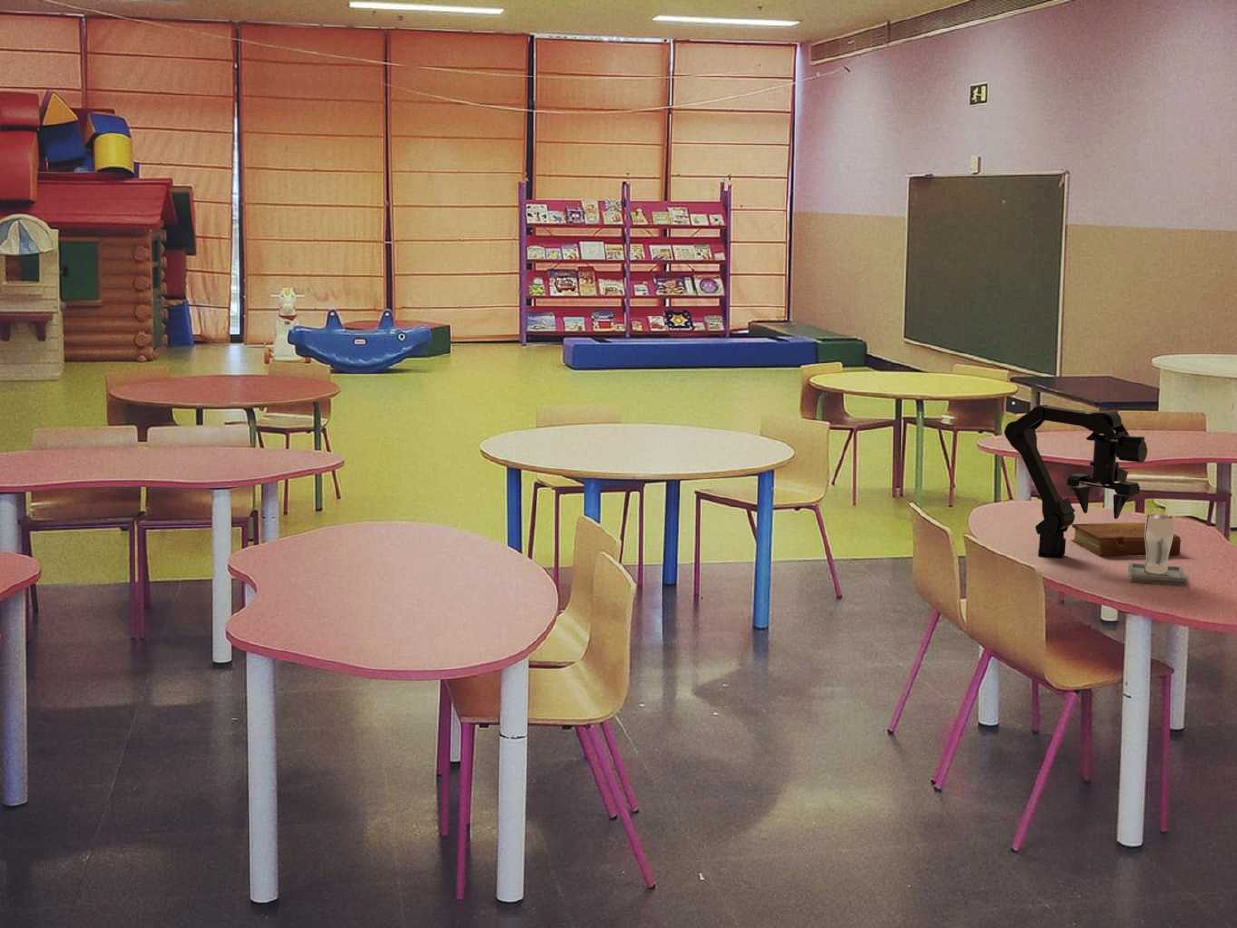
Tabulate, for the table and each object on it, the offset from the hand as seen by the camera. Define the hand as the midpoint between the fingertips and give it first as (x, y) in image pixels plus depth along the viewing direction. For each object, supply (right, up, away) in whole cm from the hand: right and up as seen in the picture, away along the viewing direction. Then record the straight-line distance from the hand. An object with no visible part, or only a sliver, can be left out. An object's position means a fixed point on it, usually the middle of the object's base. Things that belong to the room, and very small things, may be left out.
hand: (1100, 515), depth 371 cm
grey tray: (+10, -16, -13) cm, 23 cm away
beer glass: (+10, -15, -13) cm, 22 cm away
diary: (+14, -10, +20) cm, 26 cm away
